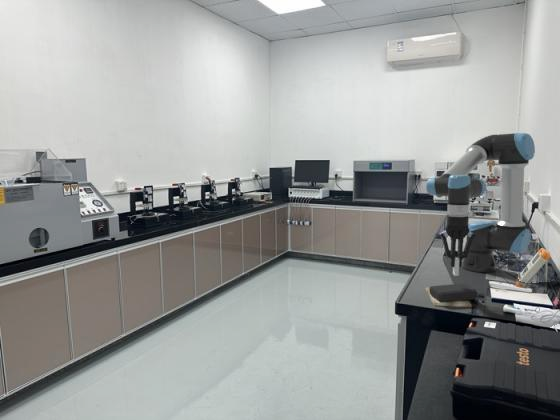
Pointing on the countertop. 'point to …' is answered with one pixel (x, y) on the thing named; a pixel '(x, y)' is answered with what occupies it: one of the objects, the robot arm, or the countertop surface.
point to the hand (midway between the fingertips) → (455, 274)
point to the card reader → (453, 292)
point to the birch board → (450, 303)
